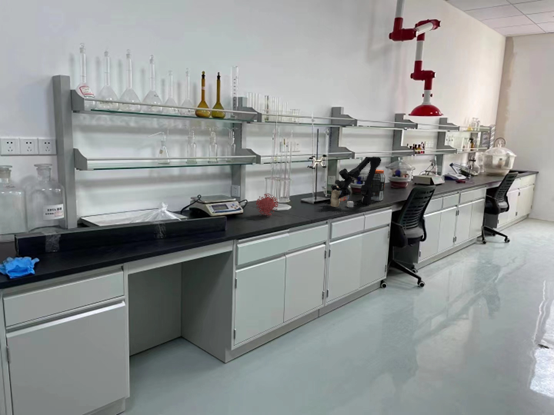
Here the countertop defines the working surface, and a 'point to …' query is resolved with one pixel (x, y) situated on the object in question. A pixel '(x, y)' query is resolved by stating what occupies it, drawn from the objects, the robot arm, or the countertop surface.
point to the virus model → (267, 204)
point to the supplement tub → (378, 185)
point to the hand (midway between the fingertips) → (334, 197)
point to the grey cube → (350, 204)
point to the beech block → (335, 198)
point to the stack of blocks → (344, 197)
